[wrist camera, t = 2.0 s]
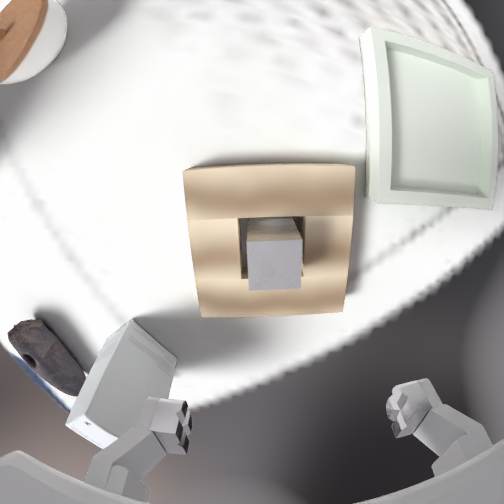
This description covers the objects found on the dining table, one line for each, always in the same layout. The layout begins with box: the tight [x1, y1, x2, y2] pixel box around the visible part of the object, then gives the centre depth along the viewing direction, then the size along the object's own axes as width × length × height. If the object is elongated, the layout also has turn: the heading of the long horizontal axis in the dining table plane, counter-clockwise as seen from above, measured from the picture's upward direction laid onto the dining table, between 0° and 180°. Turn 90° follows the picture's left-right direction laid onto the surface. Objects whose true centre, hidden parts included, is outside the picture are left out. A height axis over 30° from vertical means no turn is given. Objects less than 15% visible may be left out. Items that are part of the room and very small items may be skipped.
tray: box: [359, 27, 498, 210], centre depth 19 cm, size 16×16×3 cm
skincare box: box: [65, 319, 177, 449], centre depth 25 cm, size 8×6×15 cm
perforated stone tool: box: [8, 320, 86, 396], centre depth 30 cm, size 15×5×7 cm, turn 28°
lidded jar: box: [0, 0, 67, 84], centre depth 13 cm, size 11×11×9 cm
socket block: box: [183, 163, 355, 317], centre depth 25 cm, size 14×14×2 cm
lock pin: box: [246, 217, 303, 291], centre depth 23 cm, size 4×4×6 cm
